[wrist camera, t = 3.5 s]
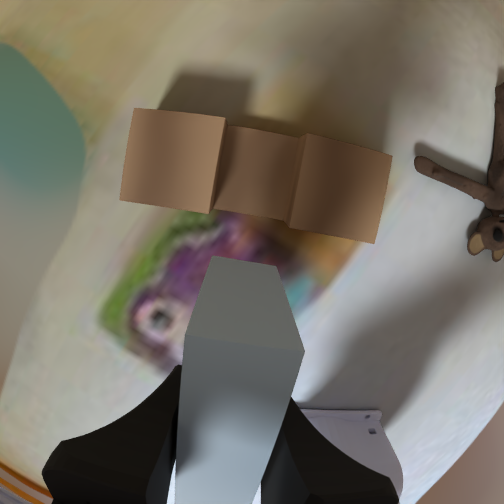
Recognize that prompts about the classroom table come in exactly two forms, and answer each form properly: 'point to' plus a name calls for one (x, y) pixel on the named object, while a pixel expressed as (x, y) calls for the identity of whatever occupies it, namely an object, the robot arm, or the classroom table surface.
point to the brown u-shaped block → (254, 173)
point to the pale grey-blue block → (234, 382)
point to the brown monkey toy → (480, 188)
